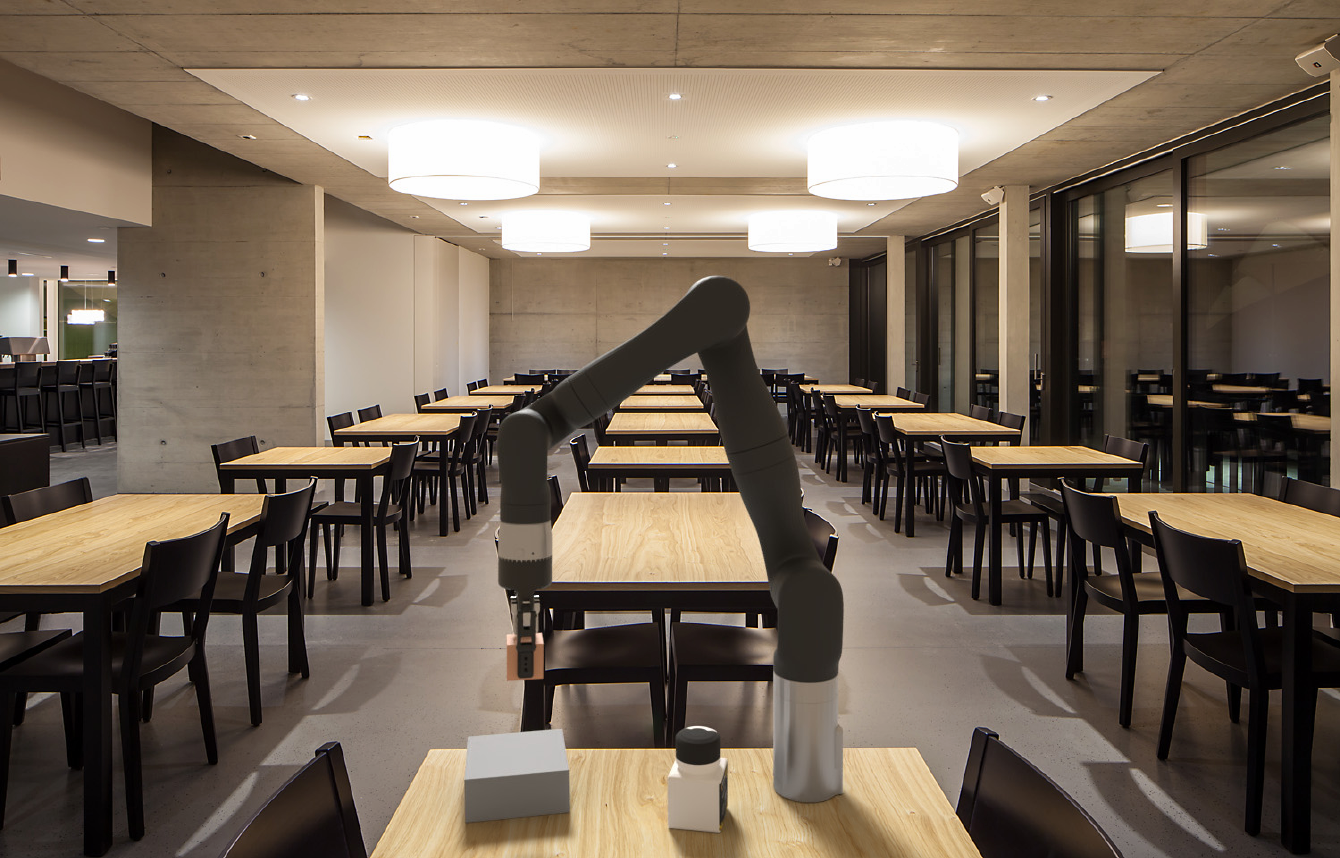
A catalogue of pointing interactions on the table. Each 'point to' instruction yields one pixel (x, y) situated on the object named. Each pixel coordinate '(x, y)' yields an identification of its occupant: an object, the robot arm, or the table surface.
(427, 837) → the table surface
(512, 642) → the terracotta cube
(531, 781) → the slate pedestal
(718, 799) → the medicine bottle
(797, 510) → the robot arm
